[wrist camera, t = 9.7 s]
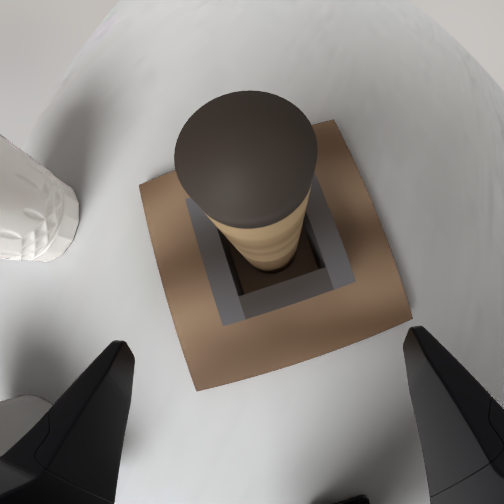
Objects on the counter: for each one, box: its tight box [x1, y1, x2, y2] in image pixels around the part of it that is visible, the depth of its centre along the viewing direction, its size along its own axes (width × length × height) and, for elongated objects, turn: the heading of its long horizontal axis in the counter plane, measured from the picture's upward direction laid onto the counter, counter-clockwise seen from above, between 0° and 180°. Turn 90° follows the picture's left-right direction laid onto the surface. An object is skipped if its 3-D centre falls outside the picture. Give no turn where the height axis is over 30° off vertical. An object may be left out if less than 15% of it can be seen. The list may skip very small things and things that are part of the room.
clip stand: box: [139, 120, 413, 391], centre depth 18 cm, size 14×14×4 cm
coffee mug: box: [0, 395, 53, 456], centre depth 14 cm, size 13×10×10 cm
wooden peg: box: [174, 91, 318, 274], centre depth 13 cm, size 3×3×13 cm
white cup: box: [0, 135, 79, 262], centre depth 17 cm, size 8×8×10 cm
